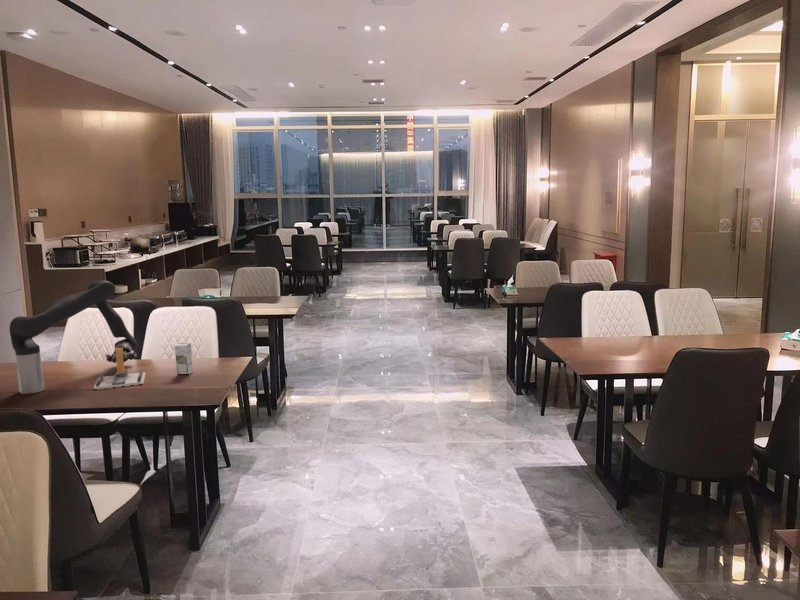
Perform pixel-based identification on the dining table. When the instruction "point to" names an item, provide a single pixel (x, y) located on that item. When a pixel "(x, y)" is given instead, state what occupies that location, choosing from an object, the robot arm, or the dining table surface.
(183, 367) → the syrup box
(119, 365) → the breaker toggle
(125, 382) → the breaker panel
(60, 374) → the dining table surface
